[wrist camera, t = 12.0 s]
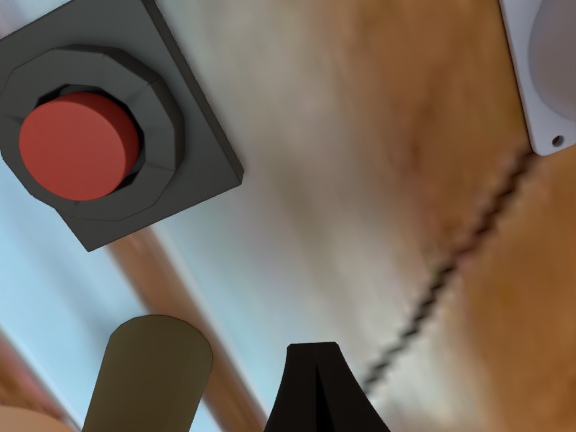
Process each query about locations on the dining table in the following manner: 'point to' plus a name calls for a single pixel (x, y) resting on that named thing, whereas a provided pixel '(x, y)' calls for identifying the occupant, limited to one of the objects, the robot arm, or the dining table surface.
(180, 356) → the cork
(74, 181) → the button
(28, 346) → the dining table surface
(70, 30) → the button housing
